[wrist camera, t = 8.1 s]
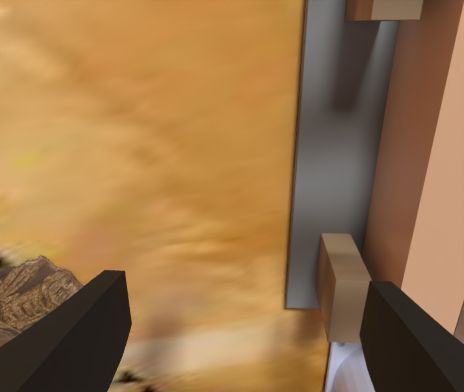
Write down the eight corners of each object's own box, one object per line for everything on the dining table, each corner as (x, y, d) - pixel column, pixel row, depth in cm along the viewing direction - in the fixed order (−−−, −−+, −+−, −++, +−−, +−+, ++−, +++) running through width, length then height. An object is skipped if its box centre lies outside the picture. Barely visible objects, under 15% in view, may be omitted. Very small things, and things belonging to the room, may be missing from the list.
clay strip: (403, 285, 21) (446, 357, 16) (357, 284, 21) (386, 355, 16) (480, -63, 14) (588, -107, 10) (412, -62, 14) (487, -104, 10)
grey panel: (456, 302, 22) (509, 373, 18) (285, 296, 23) (293, 364, 18) (585, -128, 14) (747, -204, 9) (313, -121, 14) (340, -190, 10)
